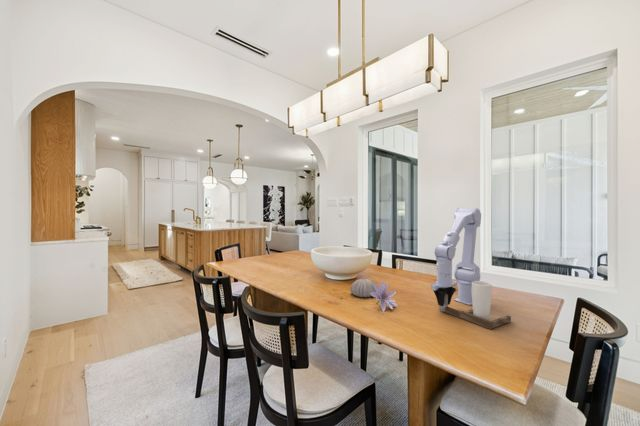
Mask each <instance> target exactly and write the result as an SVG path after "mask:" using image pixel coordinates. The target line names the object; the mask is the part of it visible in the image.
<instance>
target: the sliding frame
mask: <svg viewBox="0 0 640 426" xmlns="http://www.w3.org/2000/svg"><path fill="white" fill-rule="evenodd" d="M438 310H439V312H443V313H447V314H449V315H452V316H454V317H457V318H459V319H462V320H465V321H468V322H470V323H473V324H476V325H478V326H481V327H483V328H485V329H487V330H488V329H489V330H493V329H494V328H497V327H500V326H502V325H506V324H508V323H511V321H512V316H511V315H504V316H501V317H499V318H495V319H493V320H490V319H489V320H486V319H483V318H481V317H478V316H475V315H473V309H470V310H465V311H464V310H458V309H455V308H452V307H450V306H449V305H448V294H446V295H445V298H444V305H443V306H440V305H439V309H438Z"/></svg>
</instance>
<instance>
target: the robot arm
mask: <svg viewBox="0 0 640 426" xmlns="http://www.w3.org/2000/svg"><path fill="white" fill-rule="evenodd" d="M453 218H454V221H453V224H452V227H451V229H450V231H448V232H446V233H445V235H444V237H443V238H442V241H441V242H440V244H438V245H436V246H435V248H434V256H435V261H436V264H437V265H436V281H434V283H433V284H431V285H430V290H432V291H433V293H434V296H435V298H436V301H437V305H438V306H439V307H440V306H443V305H444V298H445V295H446V294H448V306H450V304H451V301H452V298H453V295H454V294H455V292H456V291H457V298H454V299H453V300H454V301H456V302H459V303H462V304H465V305H469V306H471V305H472V306H473V304H472V282H473V281H481V273H480V271H481V269H480V267H479V266H478V265H477V264H476V263H475V262H474V261H475V250H476V238H477V229H478V228H479V227H481V220H482V213H481V210H480V209H479V208H477V207H475V208H459V207H458V208H456V209H455V211H454V217H453ZM463 229H464V233H463V234H464V236H463V244H462V255H461V261H459V262H458V263H456V265H455V267H454V268H455V269H454V271H453V259H454V258H455V256H456V250H457V245H458V243H459V242H460V239H461V237H460V233H461V232H462V230H463ZM453 276H454V279H455V280H456V281H455V280H452V279H453ZM456 287H457V288H456Z"/></svg>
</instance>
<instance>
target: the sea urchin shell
mask: <svg viewBox="0 0 640 426" xmlns="http://www.w3.org/2000/svg"><path fill="white" fill-rule="evenodd" d="M374 283H375V282H373V281H372V280H370V279H367V278H359V279H356V280H355V281H354V282H352V284H351V285H350V289H349V291H350V293H351V294H352V295H354V296H356V297H358V298H359V297H360V298H370V297H373V296H372V295H371V294H370V292H376V293H377V291H376V290H375V287H374Z"/></svg>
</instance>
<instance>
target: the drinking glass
mask: <svg viewBox="0 0 640 426" xmlns="http://www.w3.org/2000/svg"><path fill="white" fill-rule="evenodd" d="M492 297H493V284H492V283H490V282H487V281H481V280H480V281H473V282H472V310H473V315H475V316H478V317H481V318H483V319H486V320H489V321H490V314H491V313H490V312H491V304H492Z"/></svg>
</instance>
